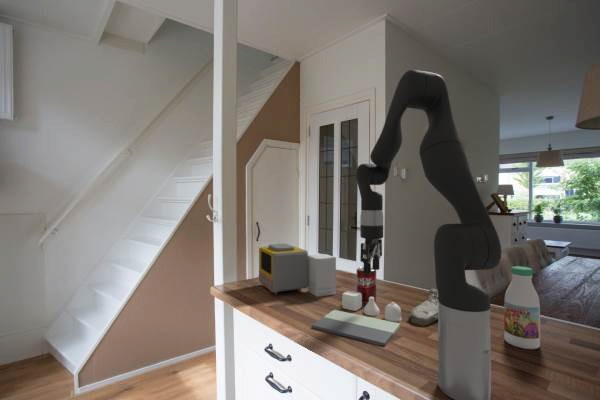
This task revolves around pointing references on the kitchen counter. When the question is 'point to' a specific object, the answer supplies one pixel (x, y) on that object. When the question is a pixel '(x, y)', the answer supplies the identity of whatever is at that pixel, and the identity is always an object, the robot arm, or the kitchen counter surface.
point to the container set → (370, 306)
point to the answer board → (358, 327)
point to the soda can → (366, 284)
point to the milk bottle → (522, 310)
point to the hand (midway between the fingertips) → (371, 272)
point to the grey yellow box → (283, 267)
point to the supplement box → (322, 275)
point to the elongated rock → (426, 310)
